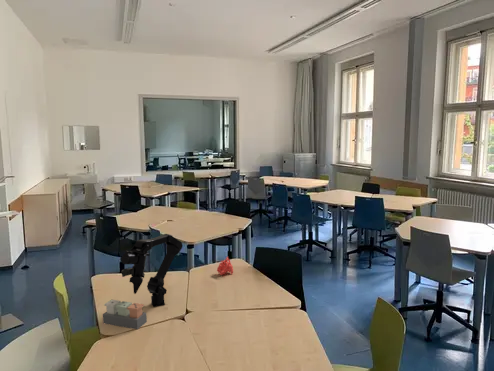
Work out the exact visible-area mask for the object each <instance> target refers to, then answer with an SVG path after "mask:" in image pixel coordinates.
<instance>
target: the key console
mask: <svg viewBox="0 0 494 371" xmlns="http://www.w3.org/2000/svg"><path fill="white" fill-rule="evenodd" d="M147 318H148V317H147V312H145V311H144V312H143V311H142V315H141V316H140V317H139V318H132V317H130V314H128V315H127V316H120V315H118V312H117V313H116V314H108V313H107V311H105V312H104V313H103V314H102V323H103V324H104V323H105V325H109V324H110V325H111V326H116V327H121V328H127V329H132V330H133V329H134V330H139V329H140V328H141V327H143V325H145V324H146V323H147V322H148V321H147V320H148V319H147Z"/></svg>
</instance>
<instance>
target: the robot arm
mask: <svg viewBox="0 0 494 371" xmlns="http://www.w3.org/2000/svg"><path fill="white" fill-rule="evenodd" d="M163 244H166V245H167V246H166V253H165V256H164V257H163V260H162V262H161V264H160V266H159V268H158V271H157V272H156V274H155V275H154V276H150V278H149V280H148V282H147V286H146V287H147V291H148V292H149V294H151V296H150V298H151V300H150V301H151V305H152V307H160V306H165V305H166V302H165V294H167V289H166V288H165V287H164V286H165V278H166V276H167V273H168V271H169V269H170V267H171V265H172V263H173V260H174V258H175V256H177V255H178V254H179V253H180V252H181V250H182V249H183V242H182V241H181V240H179V239H177V238H176V237H174V236H173V235H172V234H169V233H164V234H161V235H158V236H155V237H153V238H149V239H147V238H146V239H144V238H143V239H138V240H136V242H135V243H134V245H133V246H132V247H131V248H130V250H125V253H123V254H122V256H121V263H122V264H123V265H132V267H128V268H124V269H122V270H121V272H120V273H121V275H122V276H121V277H122V278H125V277H127V276H130V278H129V283H132V284H133V285H132V288H133V294H134V295H136V294H137V293H138V290H139V289H140V287H141V286H142V283H143V281H144V278H145V268H146V261H147V257H149V256H150V255H151V254H150V253H149V251H150V250H152V249H153V247H156V246H159V245H163Z"/></svg>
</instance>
